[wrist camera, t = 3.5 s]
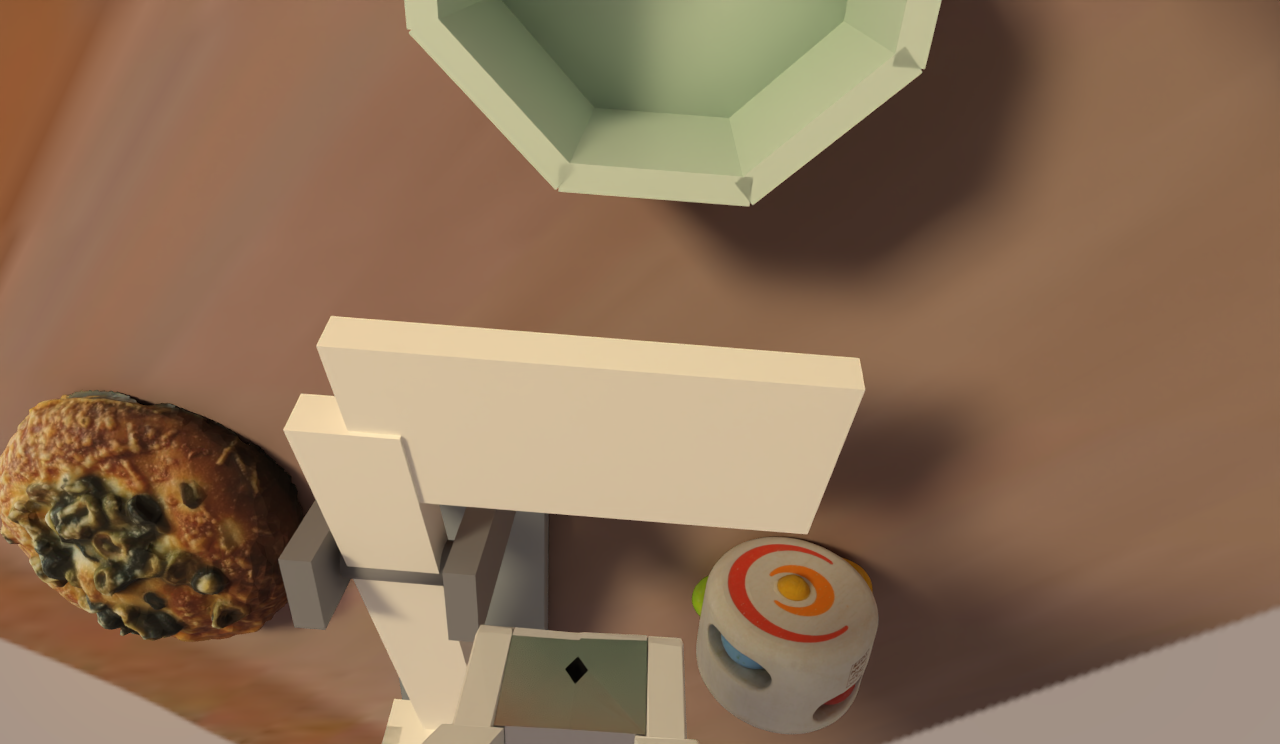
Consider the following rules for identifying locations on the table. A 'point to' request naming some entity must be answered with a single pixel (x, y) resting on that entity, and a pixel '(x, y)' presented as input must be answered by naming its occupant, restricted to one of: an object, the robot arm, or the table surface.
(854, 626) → the roller toy
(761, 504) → the lever
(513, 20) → the cup
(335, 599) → the catapult base
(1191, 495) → the table surface
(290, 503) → the bread roll
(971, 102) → the table surface
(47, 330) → the table surface
